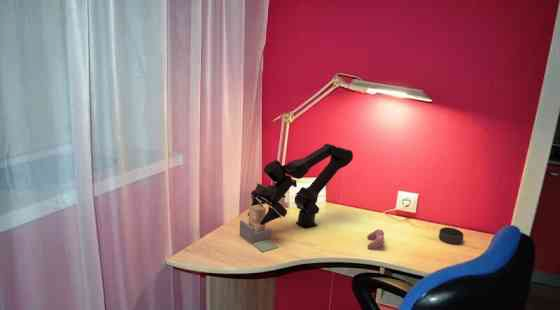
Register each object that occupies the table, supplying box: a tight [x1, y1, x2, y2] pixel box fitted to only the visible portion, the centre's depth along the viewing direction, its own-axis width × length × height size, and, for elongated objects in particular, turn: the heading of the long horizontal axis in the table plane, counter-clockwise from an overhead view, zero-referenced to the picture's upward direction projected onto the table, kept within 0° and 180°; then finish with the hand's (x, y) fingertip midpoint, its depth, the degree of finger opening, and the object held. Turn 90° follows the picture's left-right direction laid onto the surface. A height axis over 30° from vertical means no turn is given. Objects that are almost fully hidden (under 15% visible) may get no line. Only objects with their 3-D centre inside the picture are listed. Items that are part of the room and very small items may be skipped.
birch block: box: [248, 204, 267, 233], centre depth 152 cm, size 4×4×10 cm
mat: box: [251, 239, 279, 253], centre depth 146 cm, size 7×7×1 cm
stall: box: [239, 219, 272, 245], centre depth 152 cm, size 9×9×6 cm
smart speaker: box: [438, 226, 464, 245], centre depth 159 cm, size 9×9×4 cm
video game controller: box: [366, 228, 385, 250], centre depth 151 cm, size 10×5×7 cm, turn 169°
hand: (254, 220), depth 151 cm, fingers open, 9 cm apart
